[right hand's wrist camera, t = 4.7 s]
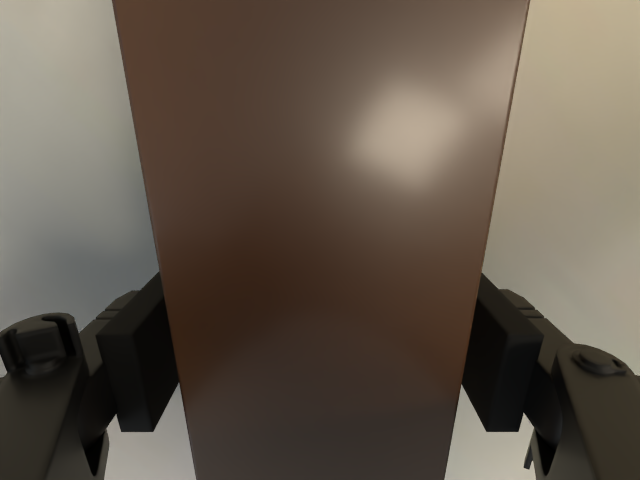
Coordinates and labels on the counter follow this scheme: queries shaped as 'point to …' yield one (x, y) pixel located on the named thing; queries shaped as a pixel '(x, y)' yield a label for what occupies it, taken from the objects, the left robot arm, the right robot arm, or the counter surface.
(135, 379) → the right robot arm
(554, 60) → the counter surface
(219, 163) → the walnut plank
